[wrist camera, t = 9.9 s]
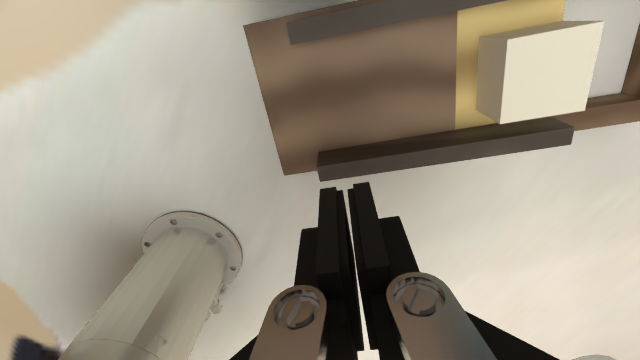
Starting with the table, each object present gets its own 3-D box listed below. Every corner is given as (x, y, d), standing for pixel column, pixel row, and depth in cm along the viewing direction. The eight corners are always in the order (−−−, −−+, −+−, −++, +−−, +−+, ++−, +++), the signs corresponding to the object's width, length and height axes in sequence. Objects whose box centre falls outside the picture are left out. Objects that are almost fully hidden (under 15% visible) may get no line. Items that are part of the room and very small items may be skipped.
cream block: (546, 96, 26) (584, 110, 22) (475, 109, 27) (499, 124, 23) (558, 20, 24) (604, 20, 20) (479, 36, 24) (507, 39, 20)
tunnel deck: (638, 110, 29) (706, 130, 24) (287, 165, 33) (278, 192, 28) (693, -72, 23) (804, -100, 17) (250, 25, 27) (230, 26, 22)
